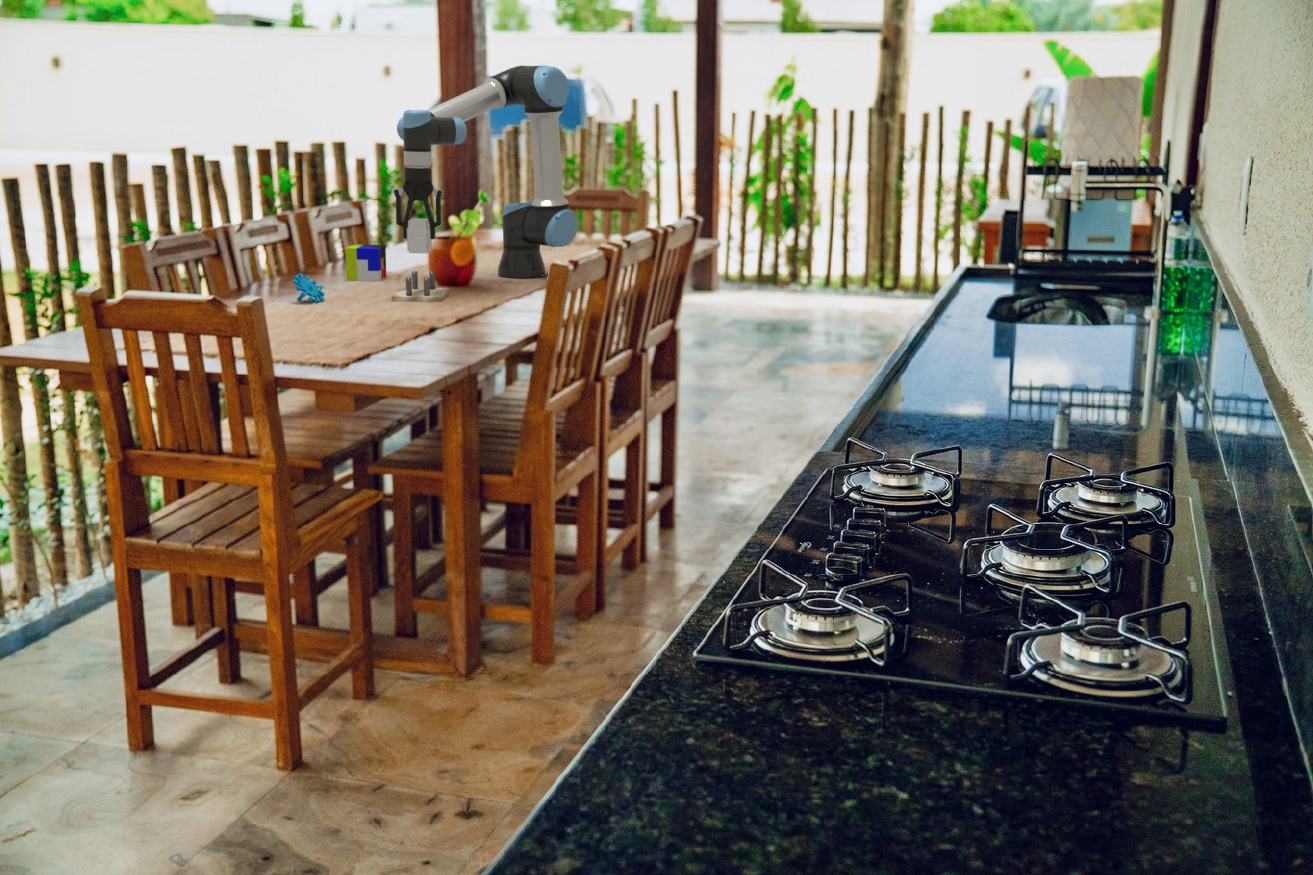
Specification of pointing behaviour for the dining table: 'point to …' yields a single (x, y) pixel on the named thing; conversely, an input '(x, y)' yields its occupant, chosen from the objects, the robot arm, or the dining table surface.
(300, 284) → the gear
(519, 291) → the dining table surface
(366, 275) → the puzzle toy
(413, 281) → the peg fixture base
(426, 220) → the jaw block
